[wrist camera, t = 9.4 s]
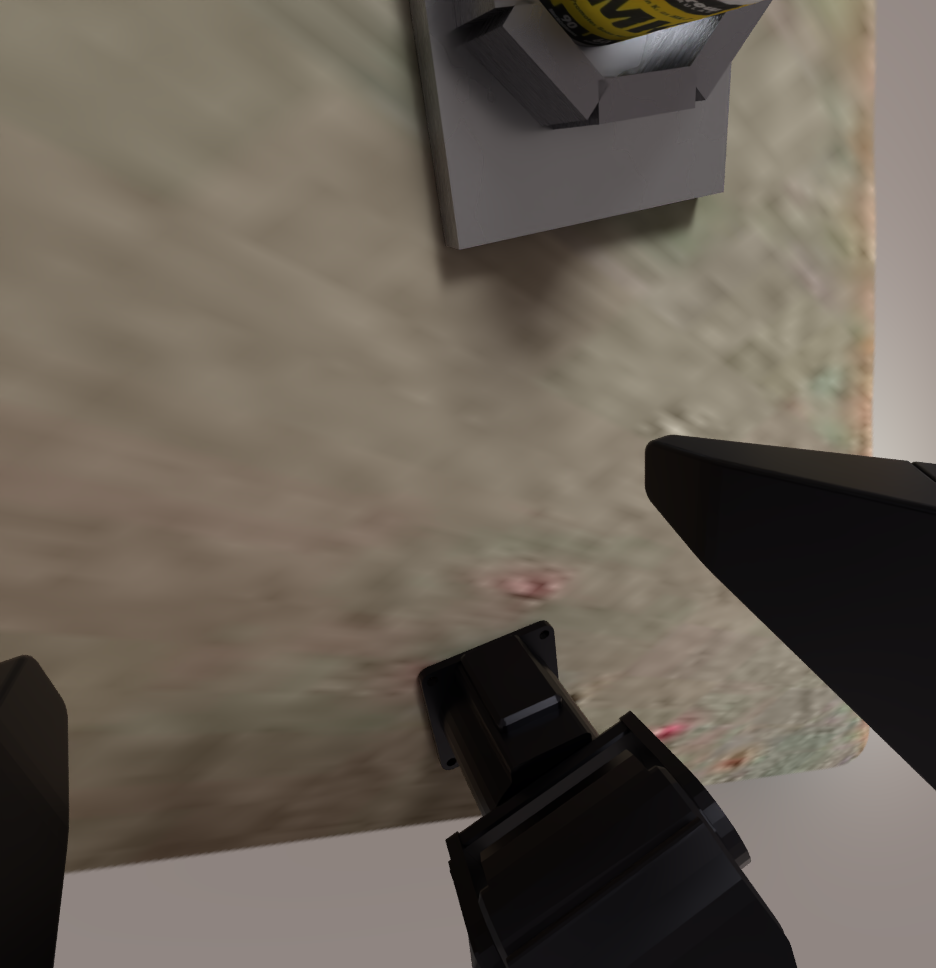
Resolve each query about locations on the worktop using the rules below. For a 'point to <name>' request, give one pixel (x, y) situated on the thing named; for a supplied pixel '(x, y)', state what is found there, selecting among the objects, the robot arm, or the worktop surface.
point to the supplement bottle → (630, 17)
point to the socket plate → (553, 167)
